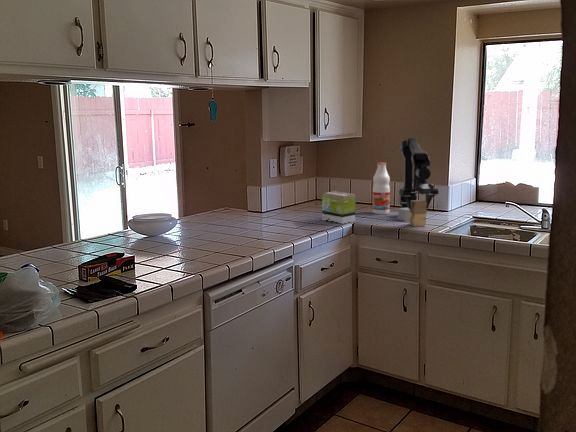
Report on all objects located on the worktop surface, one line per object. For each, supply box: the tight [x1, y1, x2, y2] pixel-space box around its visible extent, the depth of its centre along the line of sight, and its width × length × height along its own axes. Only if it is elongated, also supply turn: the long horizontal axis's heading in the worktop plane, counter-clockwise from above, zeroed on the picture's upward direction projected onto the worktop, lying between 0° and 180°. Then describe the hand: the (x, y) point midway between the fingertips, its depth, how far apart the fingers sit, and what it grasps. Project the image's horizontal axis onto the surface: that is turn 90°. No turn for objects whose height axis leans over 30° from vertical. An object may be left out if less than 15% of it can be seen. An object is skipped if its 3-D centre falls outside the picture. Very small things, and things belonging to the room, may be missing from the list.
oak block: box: [409, 213, 427, 227], centre depth 289 cm, size 6×6×6 cm
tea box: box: [321, 190, 356, 225], centre depth 300 cm, size 15×10×15 cm, turn 42°
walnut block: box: [410, 199, 427, 215], centre depth 288 cm, size 6×6×6 cm
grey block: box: [397, 207, 410, 222], centre depth 303 cm, size 6×6×6 cm
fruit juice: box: [371, 162, 391, 215], centre depth 322 cm, size 9×9×28 cm
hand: (418, 208), depth 288 cm, fingers open, 9 cm apart
